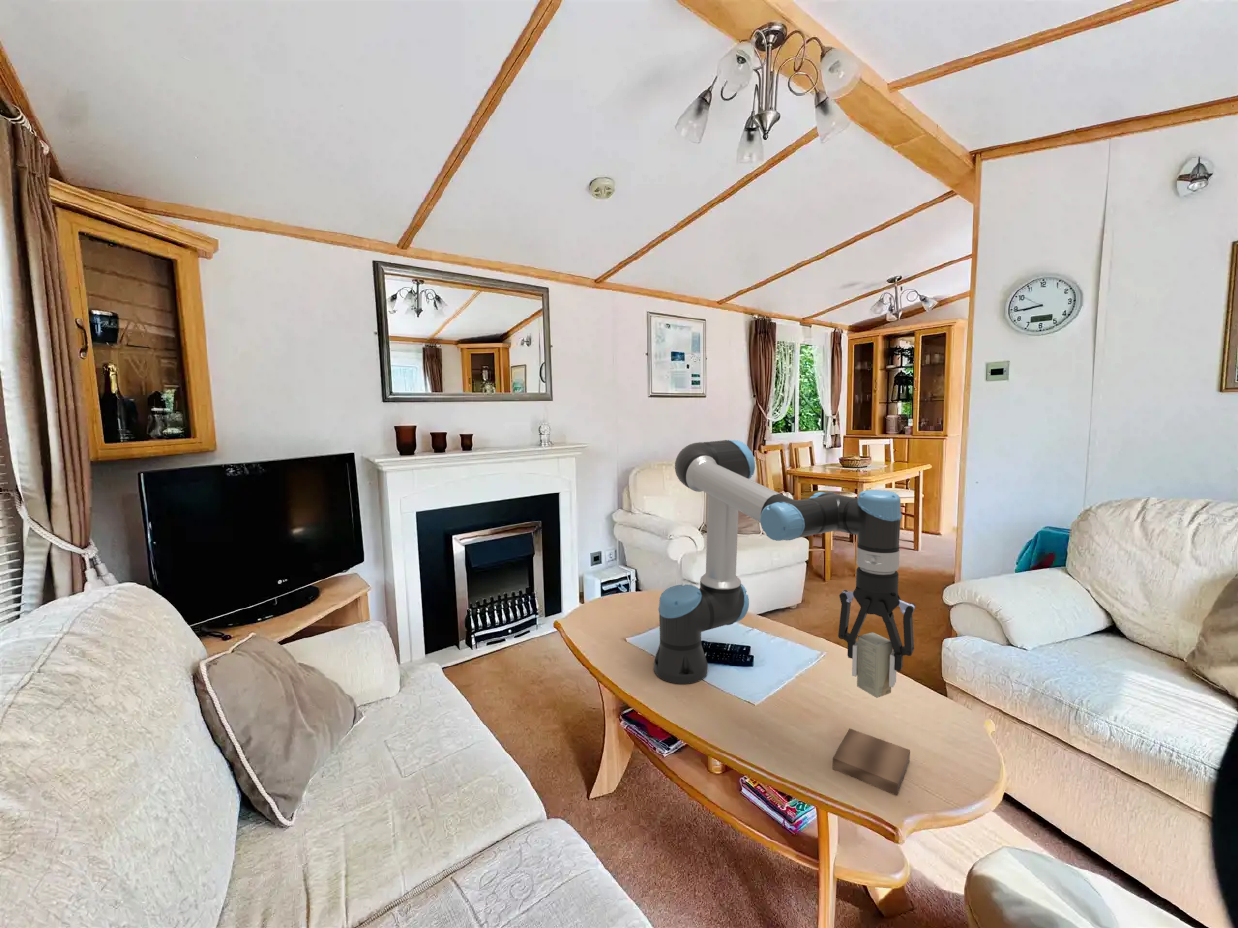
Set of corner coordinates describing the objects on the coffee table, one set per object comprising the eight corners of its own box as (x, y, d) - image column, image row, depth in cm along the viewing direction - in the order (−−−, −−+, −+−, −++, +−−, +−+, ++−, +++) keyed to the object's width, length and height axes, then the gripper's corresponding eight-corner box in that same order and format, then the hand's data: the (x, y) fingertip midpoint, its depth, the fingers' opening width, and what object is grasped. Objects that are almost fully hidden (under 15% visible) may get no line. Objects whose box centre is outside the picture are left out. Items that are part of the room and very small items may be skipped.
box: (891, 693, 105) (894, 641, 103) (876, 698, 103) (879, 646, 101) (869, 680, 109) (872, 630, 108) (854, 685, 108) (857, 635, 106)
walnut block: (832, 771, 107) (832, 757, 107) (848, 740, 116) (849, 728, 116) (897, 797, 99) (897, 783, 99) (909, 762, 109) (910, 749, 108)
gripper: (821, 565, 106) (819, 672, 109) (929, 583, 94) (924, 703, 97) (833, 556, 112) (830, 657, 114) (936, 572, 100) (931, 685, 102)
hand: (873, 678), depth 106 cm, fingers closed on box, 6 cm apart
